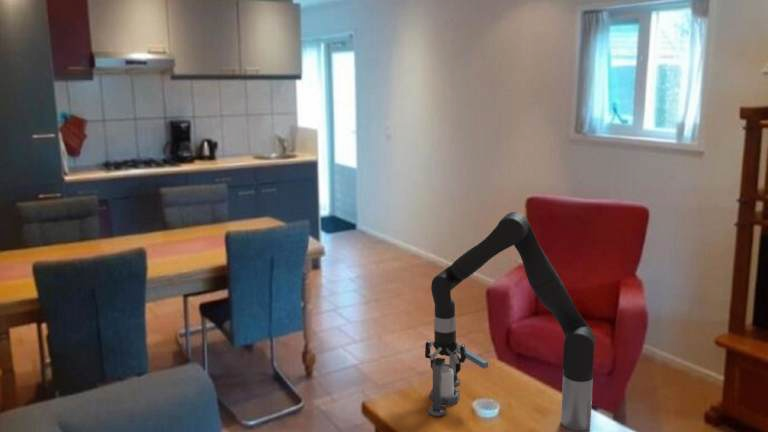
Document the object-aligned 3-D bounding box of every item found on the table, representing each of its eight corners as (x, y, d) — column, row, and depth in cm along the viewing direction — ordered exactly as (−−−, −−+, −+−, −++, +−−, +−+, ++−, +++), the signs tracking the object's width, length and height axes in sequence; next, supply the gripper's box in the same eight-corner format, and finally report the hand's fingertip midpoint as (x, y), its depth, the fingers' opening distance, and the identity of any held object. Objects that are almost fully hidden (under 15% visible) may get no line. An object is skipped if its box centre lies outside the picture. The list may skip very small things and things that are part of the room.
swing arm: (445, 347, 232) (445, 342, 231) (454, 345, 234) (454, 340, 233) (481, 369, 214) (481, 364, 214) (490, 366, 216) (490, 361, 216)
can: (452, 403, 219) (452, 372, 217) (434, 402, 221) (434, 371, 218) (454, 394, 226) (454, 364, 223) (436, 393, 227) (436, 362, 224)
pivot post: (461, 381, 236) (461, 347, 233) (458, 387, 231) (458, 353, 228) (448, 379, 237) (448, 346, 234) (445, 385, 233) (445, 351, 230)
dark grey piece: (449, 407, 217) (449, 359, 213) (443, 418, 210) (443, 369, 206) (432, 404, 219) (432, 356, 215) (426, 415, 212) (425, 366, 208)
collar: (462, 393, 226) (462, 387, 225) (455, 407, 217) (455, 400, 216) (435, 389, 229) (435, 383, 229) (427, 402, 220) (427, 396, 220)
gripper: (467, 325, 218) (467, 368, 222) (428, 321, 223) (429, 363, 227) (462, 333, 212) (462, 378, 215) (422, 329, 217) (423, 372, 220)
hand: (445, 370), depth 221 cm, fingers open, 8 cm apart
